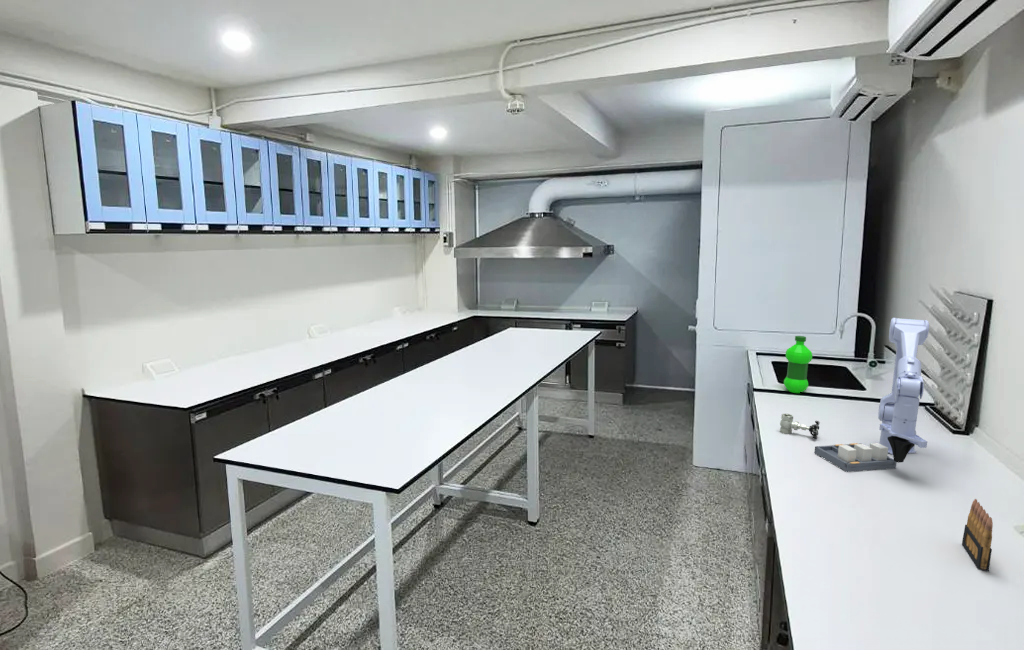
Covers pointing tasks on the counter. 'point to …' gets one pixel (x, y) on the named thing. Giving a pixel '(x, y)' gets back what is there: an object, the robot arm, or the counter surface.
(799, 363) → the plastic bottle
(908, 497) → the counter surface
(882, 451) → the pale grey block
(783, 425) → the valve
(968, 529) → the ammunition clip
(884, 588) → the counter surface
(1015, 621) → the counter surface
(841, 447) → the off-white plastic block
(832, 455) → the grey divided tray
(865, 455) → the off-white block
